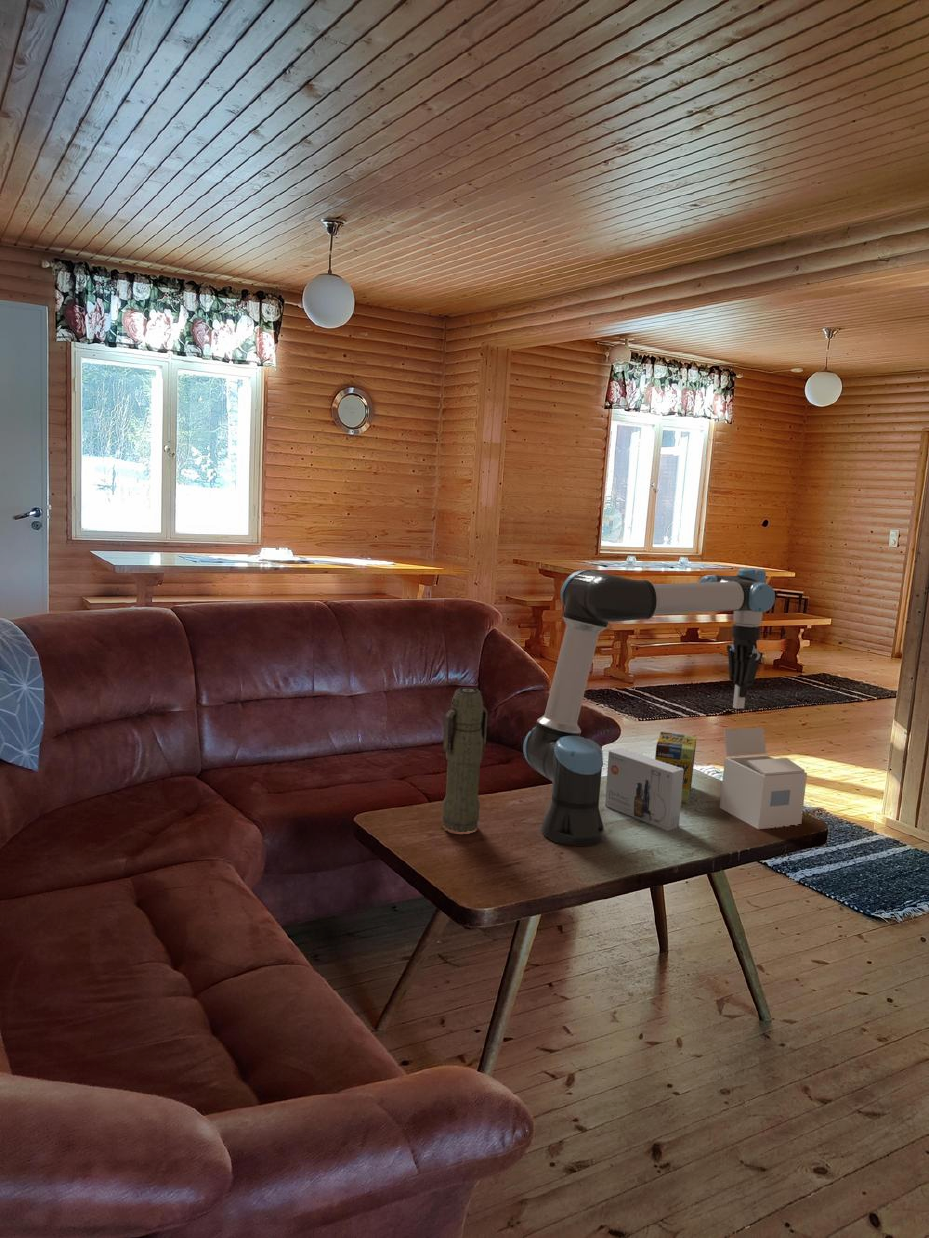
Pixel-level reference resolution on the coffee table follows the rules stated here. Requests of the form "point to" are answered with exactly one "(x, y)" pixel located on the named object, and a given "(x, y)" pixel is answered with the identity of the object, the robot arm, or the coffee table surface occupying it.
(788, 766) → the near flap
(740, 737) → the far flap
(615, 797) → the skincare box
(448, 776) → the thermos
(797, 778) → the carton
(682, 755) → the protein box
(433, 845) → the coffee table surface
